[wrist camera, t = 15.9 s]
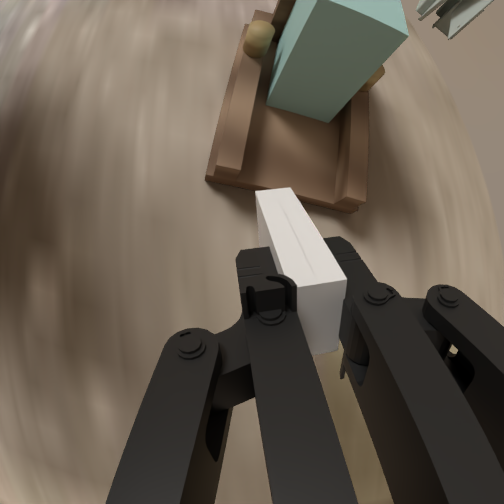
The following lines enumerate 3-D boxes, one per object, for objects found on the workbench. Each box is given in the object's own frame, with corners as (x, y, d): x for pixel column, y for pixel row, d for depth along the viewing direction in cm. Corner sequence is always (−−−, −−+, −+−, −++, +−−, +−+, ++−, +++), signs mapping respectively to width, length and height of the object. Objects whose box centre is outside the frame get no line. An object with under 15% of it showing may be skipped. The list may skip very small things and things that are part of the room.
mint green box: (328, 123, 23) (408, 36, 12) (265, 105, 22) (319, -4, 11) (332, 60, 24) (393, -25, 13) (277, 43, 23) (321, -55, 12)
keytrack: (350, 213, 23) (407, 187, 16) (204, 180, 22) (213, 132, 15) (355, 66, 26) (393, 21, 19) (242, 32, 24) (259, -26, 17)
